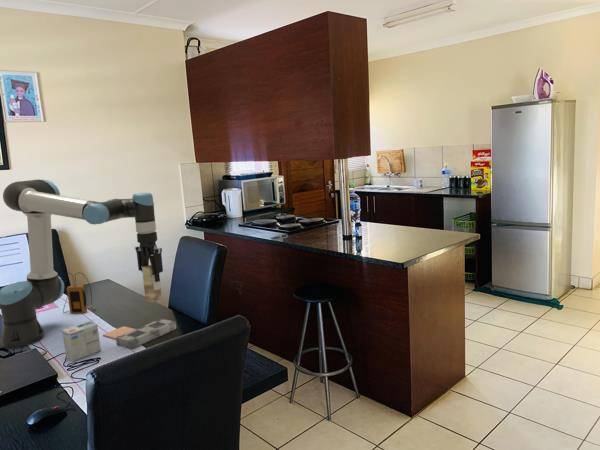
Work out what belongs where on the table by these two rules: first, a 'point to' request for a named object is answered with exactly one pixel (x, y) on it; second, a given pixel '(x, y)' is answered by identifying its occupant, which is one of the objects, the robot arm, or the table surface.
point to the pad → (118, 332)
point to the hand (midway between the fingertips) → (152, 288)
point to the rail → (145, 333)
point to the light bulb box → (81, 340)
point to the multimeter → (77, 298)
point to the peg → (150, 285)
